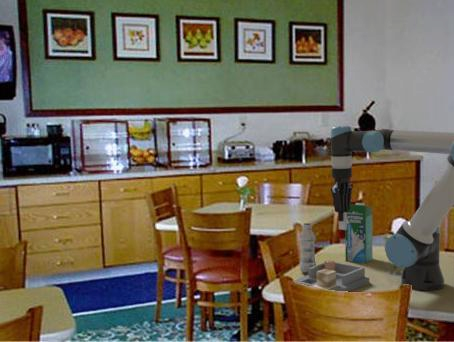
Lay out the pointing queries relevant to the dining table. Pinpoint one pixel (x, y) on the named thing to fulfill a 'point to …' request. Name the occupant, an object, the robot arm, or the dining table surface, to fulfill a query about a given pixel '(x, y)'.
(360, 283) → the cubby deck
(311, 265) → the plastic bottle
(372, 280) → the dining table surface
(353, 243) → the milk carton
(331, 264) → the tan block
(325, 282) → the maple cube
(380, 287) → the dining table surface
